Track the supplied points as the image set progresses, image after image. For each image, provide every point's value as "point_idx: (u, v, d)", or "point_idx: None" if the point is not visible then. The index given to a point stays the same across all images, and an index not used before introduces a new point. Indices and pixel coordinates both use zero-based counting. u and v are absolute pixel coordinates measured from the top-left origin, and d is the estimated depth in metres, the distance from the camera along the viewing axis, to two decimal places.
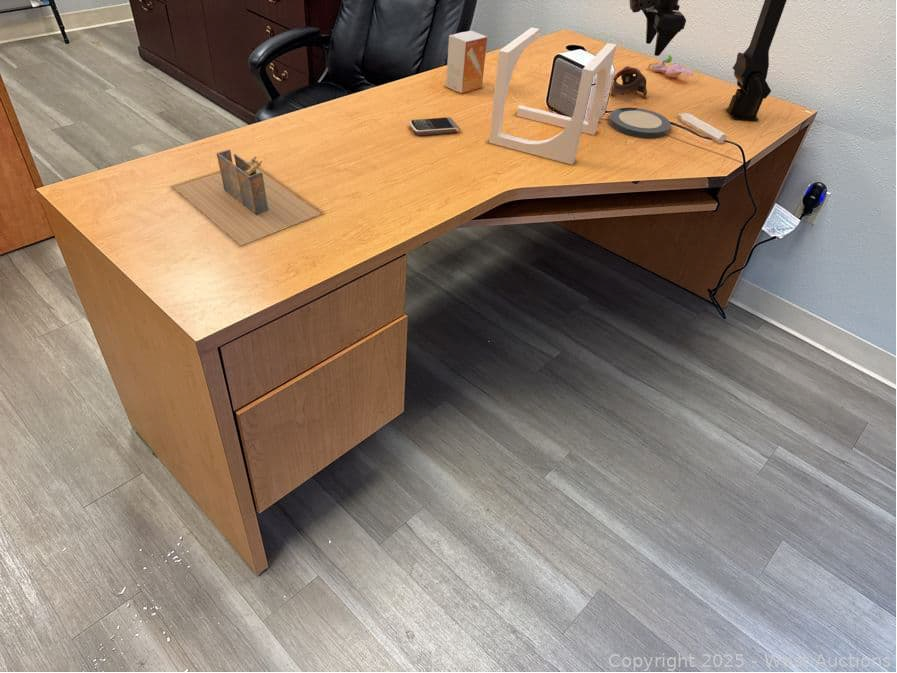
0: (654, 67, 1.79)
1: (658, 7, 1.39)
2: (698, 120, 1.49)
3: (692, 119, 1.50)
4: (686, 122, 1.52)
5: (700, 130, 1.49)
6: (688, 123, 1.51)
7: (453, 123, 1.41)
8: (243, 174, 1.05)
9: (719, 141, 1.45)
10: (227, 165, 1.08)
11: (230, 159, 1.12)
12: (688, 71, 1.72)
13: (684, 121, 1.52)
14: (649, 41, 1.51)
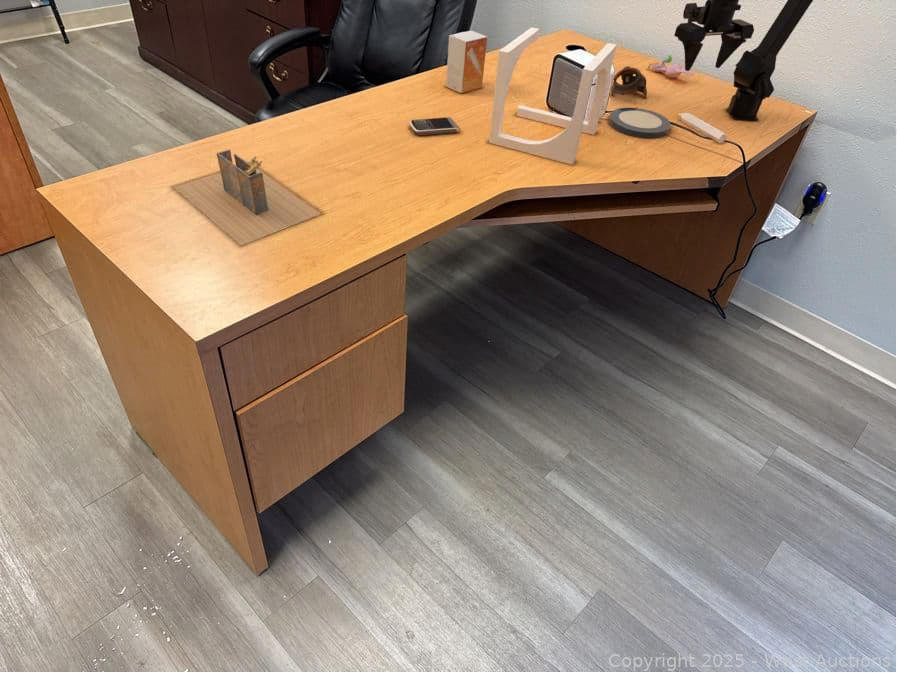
0: (654, 67, 1.79)
1: (701, 22, 1.39)
2: (698, 120, 1.49)
3: (692, 119, 1.50)
4: (686, 122, 1.52)
5: (700, 130, 1.49)
6: (688, 123, 1.51)
7: (453, 123, 1.41)
8: (243, 174, 1.05)
9: (719, 141, 1.45)
10: (227, 165, 1.08)
11: (230, 159, 1.12)
12: (688, 71, 1.72)
13: (684, 121, 1.52)
14: (717, 65, 1.46)
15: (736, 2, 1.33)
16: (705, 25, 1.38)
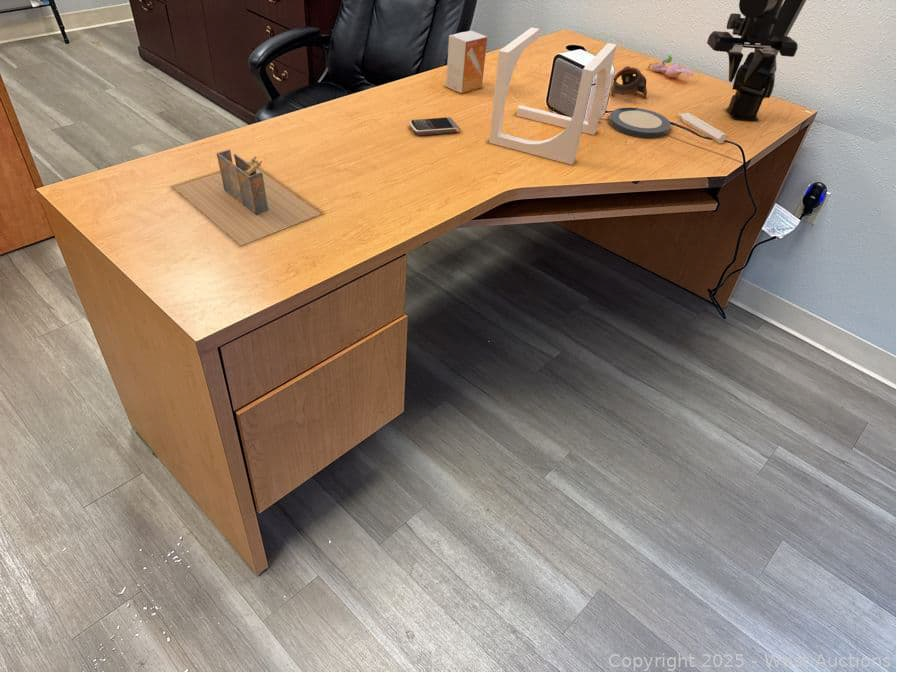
0: (654, 67, 1.79)
1: (739, 33, 1.37)
2: (698, 120, 1.49)
3: (693, 119, 1.50)
4: (687, 122, 1.52)
5: (700, 130, 1.49)
6: (689, 123, 1.51)
7: (453, 123, 1.41)
8: (243, 174, 1.05)
9: (719, 141, 1.45)
10: (227, 165, 1.08)
11: (230, 159, 1.12)
12: (688, 71, 1.72)
13: (685, 121, 1.52)
14: (745, 80, 1.42)
15: (772, 15, 1.30)
16: (741, 36, 1.36)
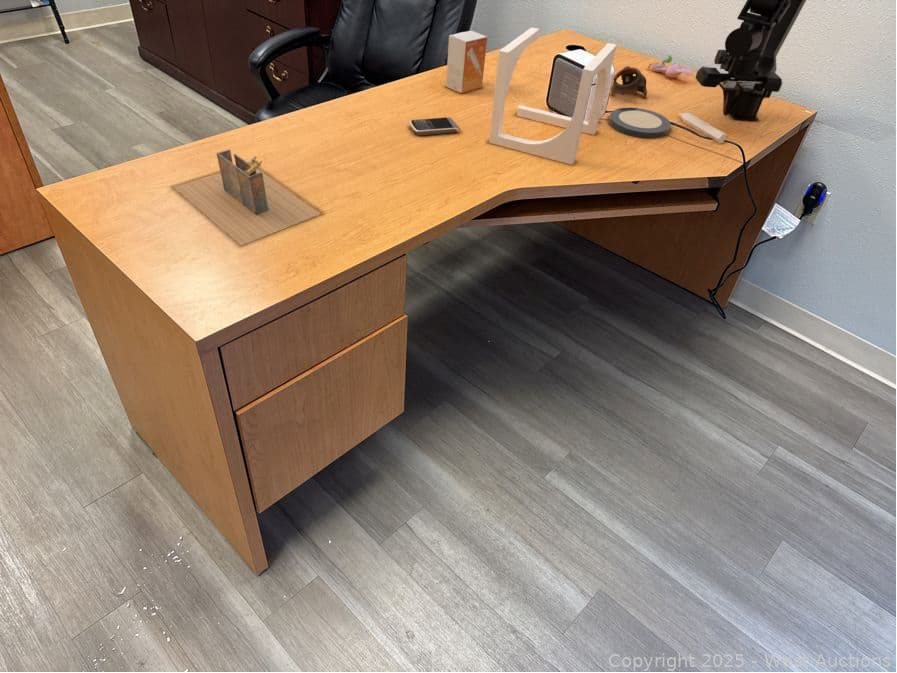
0: (654, 67, 1.79)
1: (726, 68, 1.43)
2: (699, 120, 1.50)
3: (693, 119, 1.50)
4: (687, 122, 1.52)
5: (700, 130, 1.49)
6: (689, 123, 1.51)
7: (453, 123, 1.41)
8: (243, 174, 1.05)
9: (719, 141, 1.45)
10: (227, 165, 1.08)
11: (230, 159, 1.12)
12: (688, 71, 1.72)
13: (685, 121, 1.52)
14: None
15: (757, 53, 1.36)
16: (728, 72, 1.42)
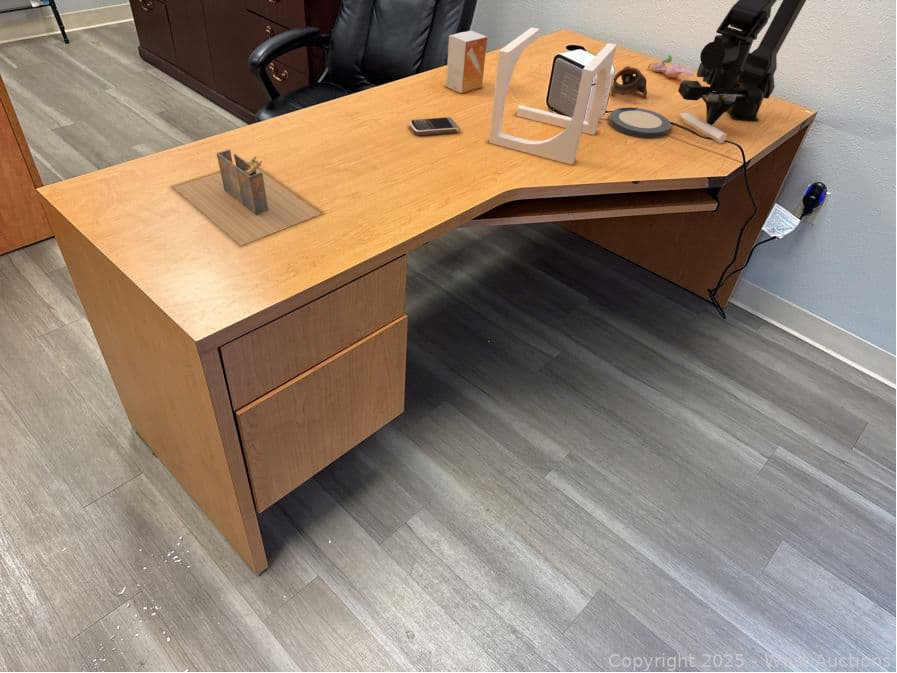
0: (654, 67, 1.79)
1: (708, 82, 1.45)
2: (699, 120, 1.50)
3: (693, 119, 1.50)
4: (687, 122, 1.52)
5: (701, 130, 1.49)
6: (689, 123, 1.51)
7: (453, 123, 1.41)
8: (243, 174, 1.05)
9: (719, 141, 1.45)
10: (227, 165, 1.08)
11: (230, 159, 1.12)
12: (688, 71, 1.72)
13: (685, 121, 1.52)
14: None
15: (738, 67, 1.38)
16: (710, 85, 1.44)
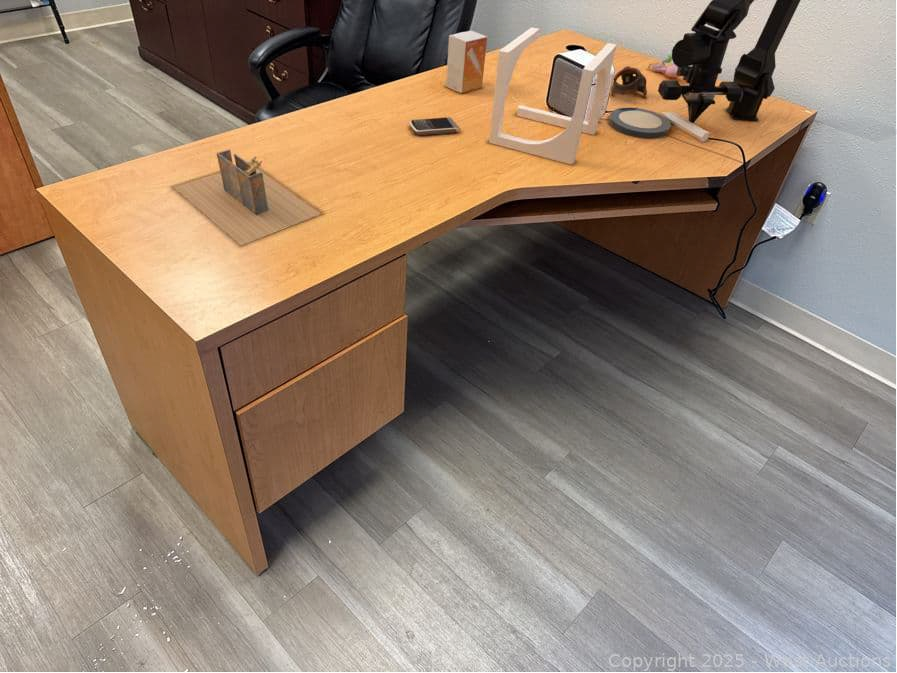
0: (654, 67, 1.79)
1: (687, 81, 1.45)
2: (682, 118, 1.49)
3: (676, 117, 1.50)
4: (670, 120, 1.52)
5: (684, 128, 1.49)
6: (672, 121, 1.51)
7: (453, 123, 1.41)
8: (243, 174, 1.05)
9: (702, 139, 1.45)
10: (227, 165, 1.08)
11: (230, 159, 1.12)
12: None
13: (668, 119, 1.52)
14: None
15: (715, 66, 1.38)
16: (689, 84, 1.44)
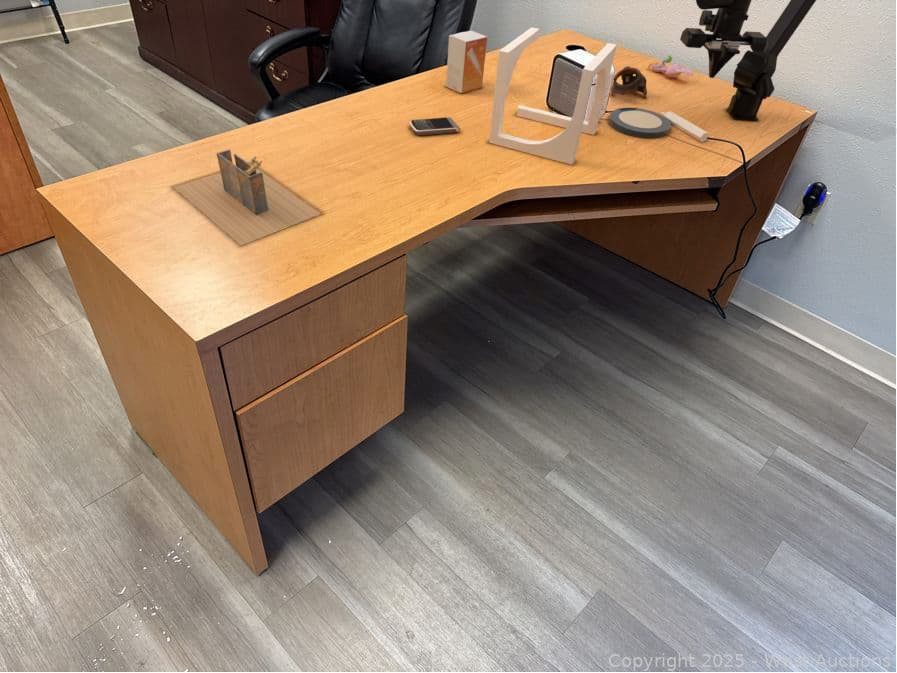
0: (654, 67, 1.79)
1: (711, 29, 1.40)
2: (681, 118, 1.49)
3: (675, 117, 1.50)
4: (669, 120, 1.52)
5: (682, 128, 1.49)
6: (671, 121, 1.51)
7: (453, 123, 1.41)
8: (243, 174, 1.05)
9: (701, 139, 1.45)
10: (227, 165, 1.08)
11: (230, 159, 1.12)
12: (688, 71, 1.72)
13: None
14: None
15: (742, 12, 1.33)
16: (713, 32, 1.39)
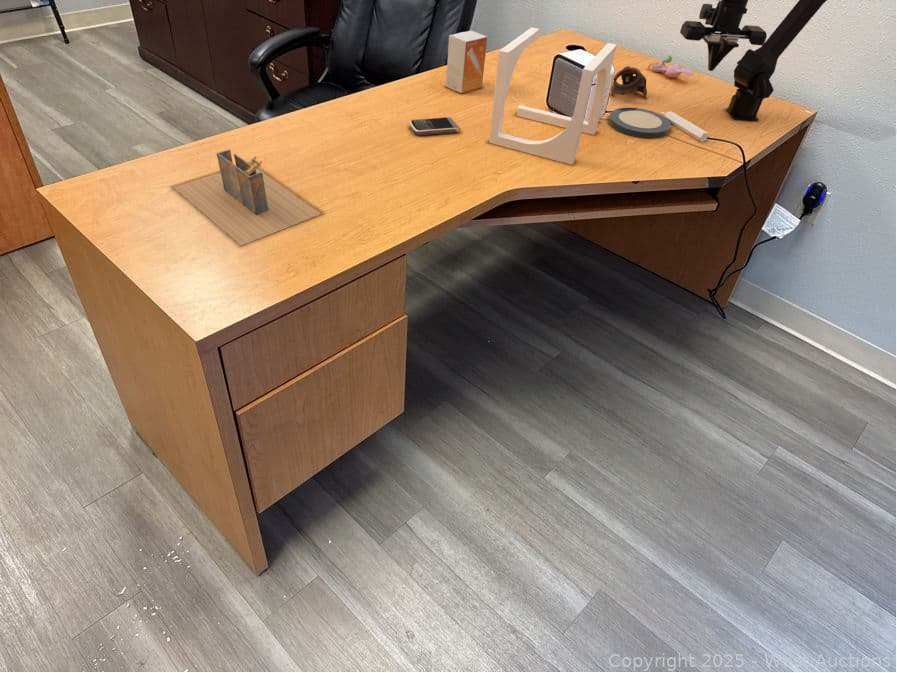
0: (654, 67, 1.79)
1: (710, 22, 1.42)
2: (681, 118, 1.49)
3: (675, 117, 1.50)
4: (669, 120, 1.52)
5: (683, 128, 1.49)
6: (671, 121, 1.51)
7: (453, 123, 1.41)
8: (243, 174, 1.05)
9: (701, 139, 1.45)
10: (227, 165, 1.08)
11: (230, 159, 1.12)
12: (688, 71, 1.72)
13: None
14: None
15: (741, 5, 1.35)
16: (712, 26, 1.41)
